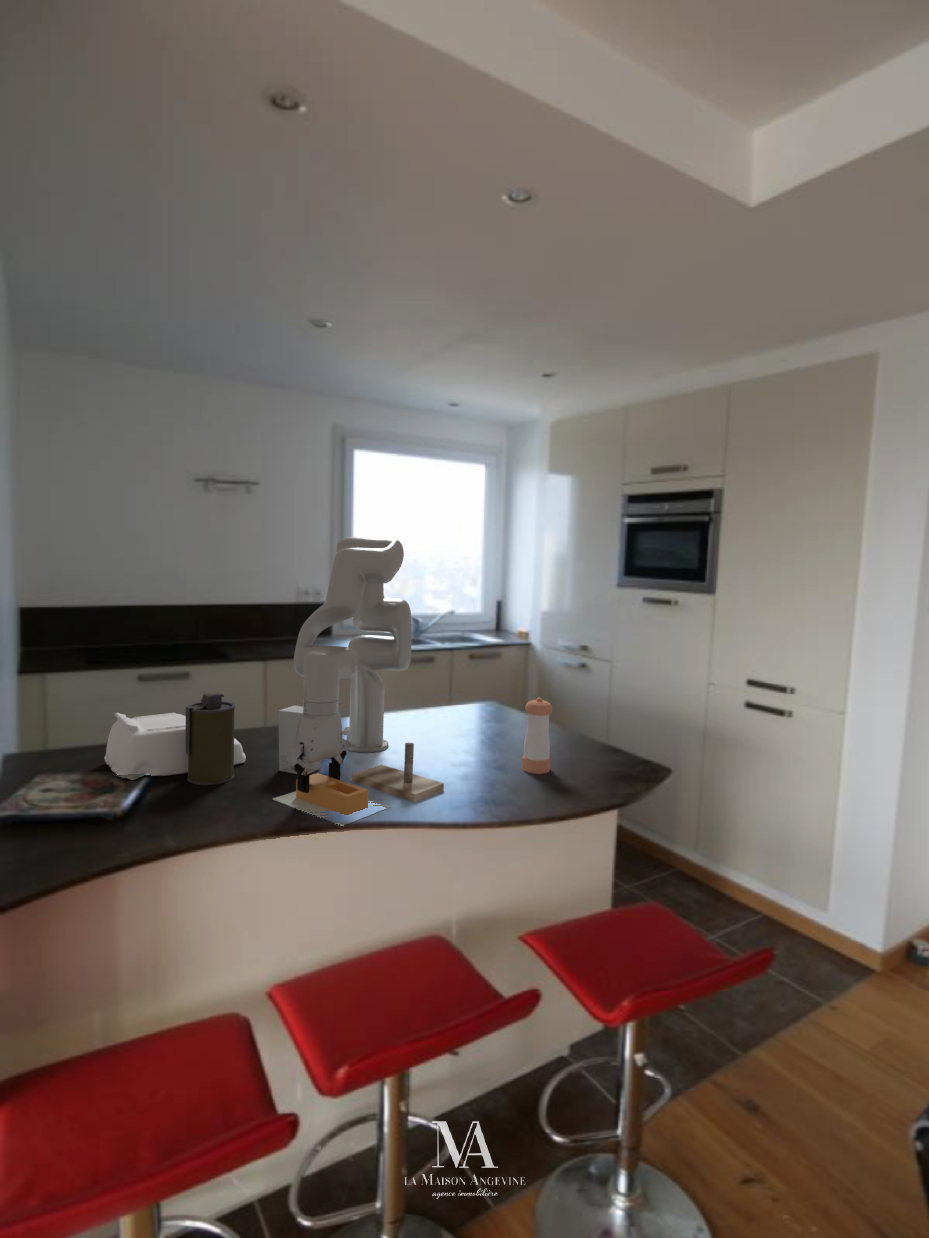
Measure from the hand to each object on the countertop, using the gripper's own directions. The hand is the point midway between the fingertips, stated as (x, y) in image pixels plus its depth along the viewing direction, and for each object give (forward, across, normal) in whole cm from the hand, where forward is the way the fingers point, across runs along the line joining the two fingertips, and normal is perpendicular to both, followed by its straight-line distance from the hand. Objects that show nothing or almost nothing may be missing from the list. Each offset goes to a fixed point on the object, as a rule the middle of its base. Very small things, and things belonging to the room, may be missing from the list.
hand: (319, 786), depth 146 cm
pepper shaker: (+3, -52, +24) cm, 57 cm away
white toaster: (+4, +8, -44) cm, 45 cm away
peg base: (+3, -18, +10) cm, 21 cm away
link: (+3, 0, +4) cm, 5 cm away
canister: (+3, +8, -29) cm, 30 cm away
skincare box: (+3, -10, -19) cm, 22 cm away
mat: (+3, 0, +4) cm, 5 cm away
